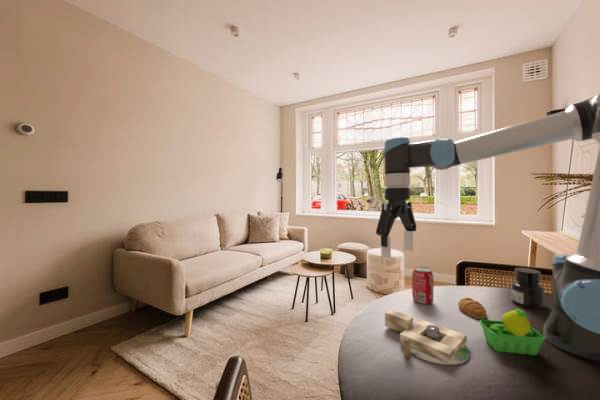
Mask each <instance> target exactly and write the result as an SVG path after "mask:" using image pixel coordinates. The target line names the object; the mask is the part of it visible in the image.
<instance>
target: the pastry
mask: <svg viewBox="0 0 600 400" xmlns="http://www.w3.org/2000/svg"><path fill="white" fill-rule="evenodd" d="M457 304H458V308H459V310H460V311H461V312H462V313H464V314H466V315H467V316H469V317H471V318H474V319H475V320H477V319H480V320H485V319H486V318H487V316H488V314H487V311H486V309H485V307H484V306H483V305H482V303H481V302H479V301H477V300H474V299H473V298H470V297H465V298H461V299H460V300H459V301H458V303H457Z"/></svg>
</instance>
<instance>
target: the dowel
mask: <svg viewBox="0 0 600 400" xmlns="http://www.w3.org/2000/svg"><path fill="white" fill-rule="evenodd" d="M403 344H404V347H403V357H404V358H405V359H410V358H411V356H412V354H411V340H410V339H408V338H404V339H403Z"/></svg>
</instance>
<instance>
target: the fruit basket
mask: <svg viewBox="0 0 600 400" xmlns="http://www.w3.org/2000/svg"><path fill="white" fill-rule="evenodd" d="M479 322H480V325H481V328H482V331H483V334H484V338H485V340H486V342H487V343H488V344H489V346H491V348H492V349H493V350H495V352H500V353H510V354H520V355H531V356H537V355H538V353H539V351H540V348H541V347H542V344H543V342H544V341H545V340H546V339H545V337H544V335H543V334H541V333H540V332H539V331H538V330H536V329H535V328H533V326H531V322H530V321H529V319H528V314H527V313H526V311H524V310H522V309H520V308H516V309H514V310H510V311H508V312H505V313H504V314H502V317H501V320H491V319H489V320H488V319H480V320H479Z"/></svg>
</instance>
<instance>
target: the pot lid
mask: <svg viewBox="0 0 600 400" xmlns="http://www.w3.org/2000/svg"><path fill="white" fill-rule="evenodd" d="M425 337H427V338H430V339H432V340H435V341H437V342H440V341H441V340H440V334H439V328H438V327H436V326H433V325H428V326H427V336H425ZM400 345H401V346H402V348H404V344H403V343H402V342H400ZM411 356H414V357H415V358H417V359H419V360H422V361H423V362H427V363H430V364H434V365H437V366H447V367H449V366H452V367H453V366H461V365H463V364H465V363H466V362H467V361H468V360H469V358H470V350H469V346H467V344H465V345H464V347H463V348H462V349H461V350H460V351H459V352H458V354H457V355H456V356H455V357H454V358H453V360H452V361H451V362H450V363H448V362H446V361H443V360H441V359H439V358H437V357H434V356H432V355H430V354H427V353H425V352H423V351H421V350H418V349H416V348H414V347H411Z"/></svg>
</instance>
